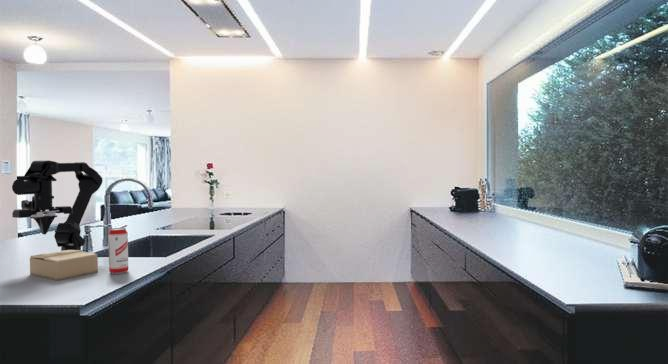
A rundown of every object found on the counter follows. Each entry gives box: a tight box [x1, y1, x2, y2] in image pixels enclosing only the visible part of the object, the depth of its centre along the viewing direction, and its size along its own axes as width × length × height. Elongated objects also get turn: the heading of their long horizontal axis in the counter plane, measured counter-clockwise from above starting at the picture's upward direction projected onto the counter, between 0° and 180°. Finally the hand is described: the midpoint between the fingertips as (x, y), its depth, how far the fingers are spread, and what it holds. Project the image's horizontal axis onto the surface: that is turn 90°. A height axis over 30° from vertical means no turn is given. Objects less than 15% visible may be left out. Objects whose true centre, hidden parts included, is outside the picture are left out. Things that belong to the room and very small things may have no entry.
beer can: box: [107, 227, 129, 275], centre depth 157 cm, size 6×6×16 cm
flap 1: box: [29, 249, 84, 258], centre depth 159 cm, size 14×9×1 cm, turn 150°
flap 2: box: [44, 251, 98, 263], centre depth 155 cm, size 14×9×1 cm, turn 150°
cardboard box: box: [29, 255, 99, 281], centre depth 157 cm, size 14×18×6 cm
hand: (44, 234), depth 165 cm, fingers closed
